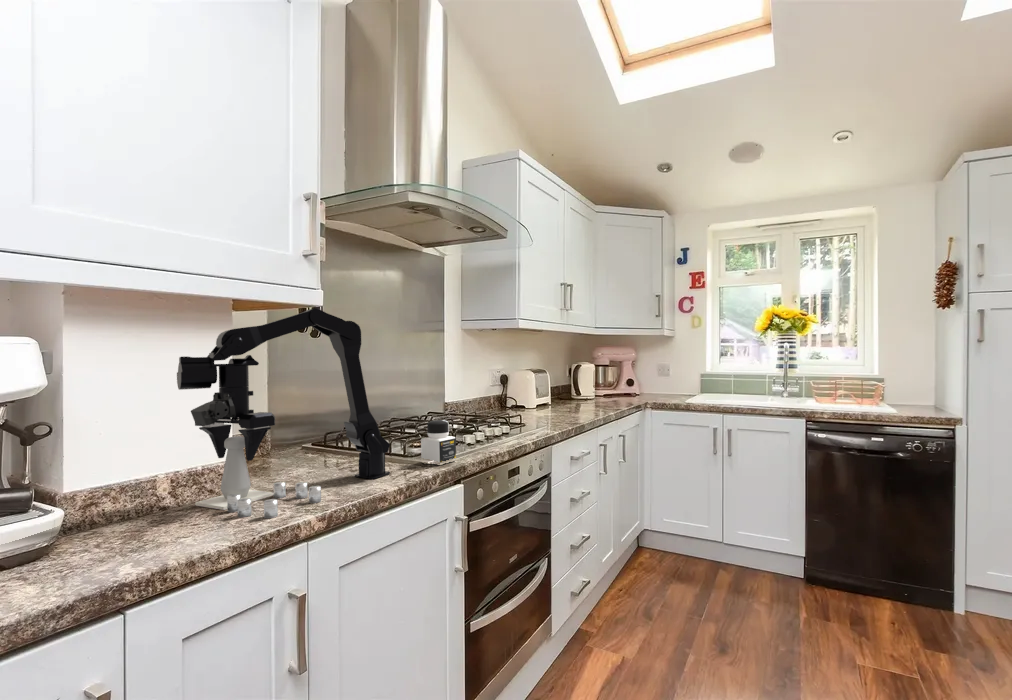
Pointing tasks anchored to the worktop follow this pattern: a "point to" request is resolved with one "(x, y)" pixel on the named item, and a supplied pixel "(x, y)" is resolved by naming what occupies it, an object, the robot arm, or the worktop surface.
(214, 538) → the worktop surface
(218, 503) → the pad
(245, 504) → the spacer field
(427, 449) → the medicine bottle
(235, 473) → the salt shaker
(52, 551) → the worktop surface
